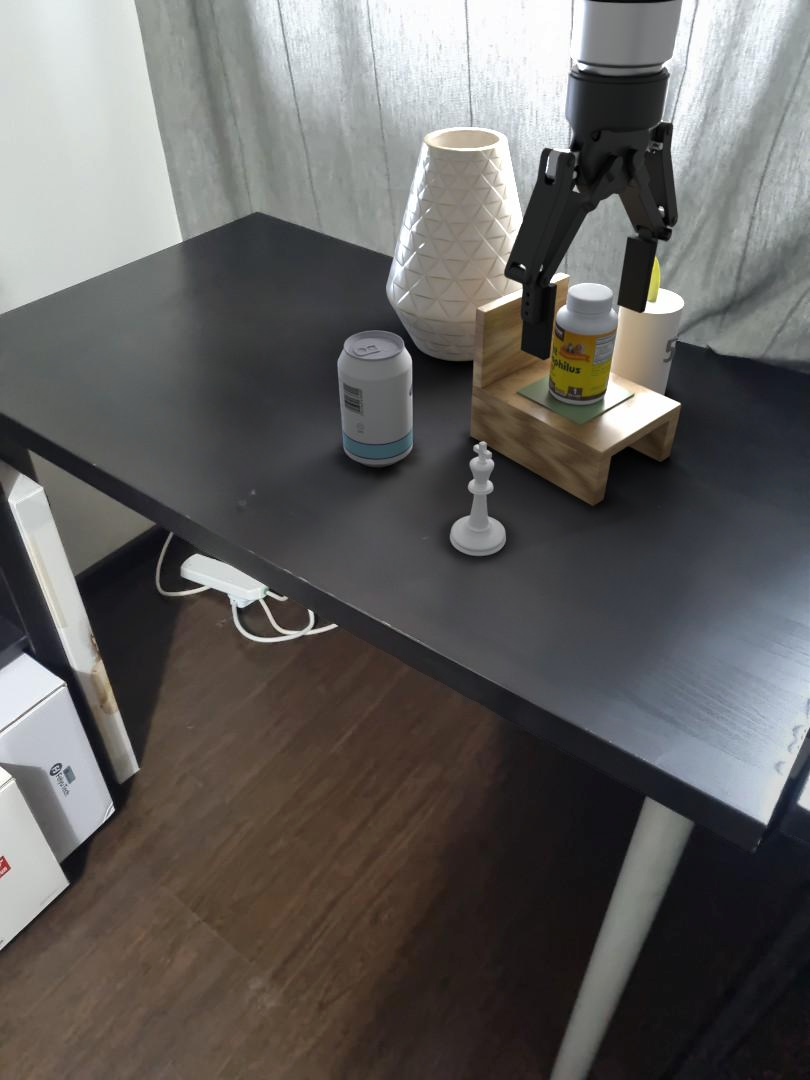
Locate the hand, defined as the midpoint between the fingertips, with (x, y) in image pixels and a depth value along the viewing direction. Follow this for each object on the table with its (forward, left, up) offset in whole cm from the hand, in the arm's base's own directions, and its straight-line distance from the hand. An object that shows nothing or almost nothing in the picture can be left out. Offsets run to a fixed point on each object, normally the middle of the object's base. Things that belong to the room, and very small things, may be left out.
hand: (585, 330), depth 75 cm
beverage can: (+12, +15, -13) cm, 23 cm away
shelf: (0, 0, -13) cm, 13 cm away
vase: (+24, -8, -13) cm, 29 cm away
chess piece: (-4, +17, -13) cm, 22 cm away
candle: (+2, -14, -13) cm, 19 cm away
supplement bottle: (0, 0, -7) cm, 7 cm away
